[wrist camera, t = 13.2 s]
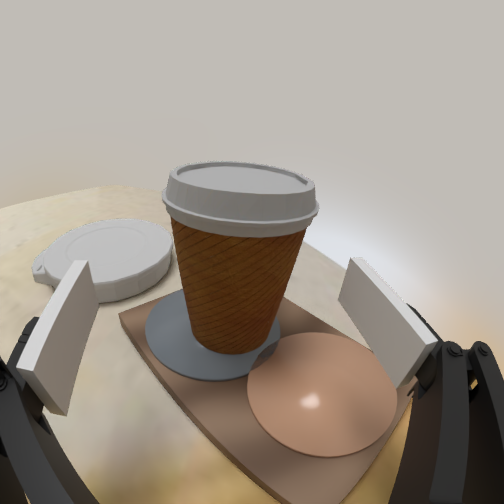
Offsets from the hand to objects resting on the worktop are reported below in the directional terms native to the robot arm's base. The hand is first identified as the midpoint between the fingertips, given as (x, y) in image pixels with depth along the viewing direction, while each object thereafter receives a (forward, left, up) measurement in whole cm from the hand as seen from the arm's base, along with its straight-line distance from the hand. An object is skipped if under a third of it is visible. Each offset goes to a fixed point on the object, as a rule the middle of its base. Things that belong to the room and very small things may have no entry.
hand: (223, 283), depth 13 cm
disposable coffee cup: (-4, +4, -8) cm, 10 cm away
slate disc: (-5, +3, -8) cm, 10 cm away
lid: (-23, -1, -10) cm, 26 cm away
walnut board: (0, +4, -10) cm, 11 cm away
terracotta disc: (+5, +5, -8) cm, 11 cm away
